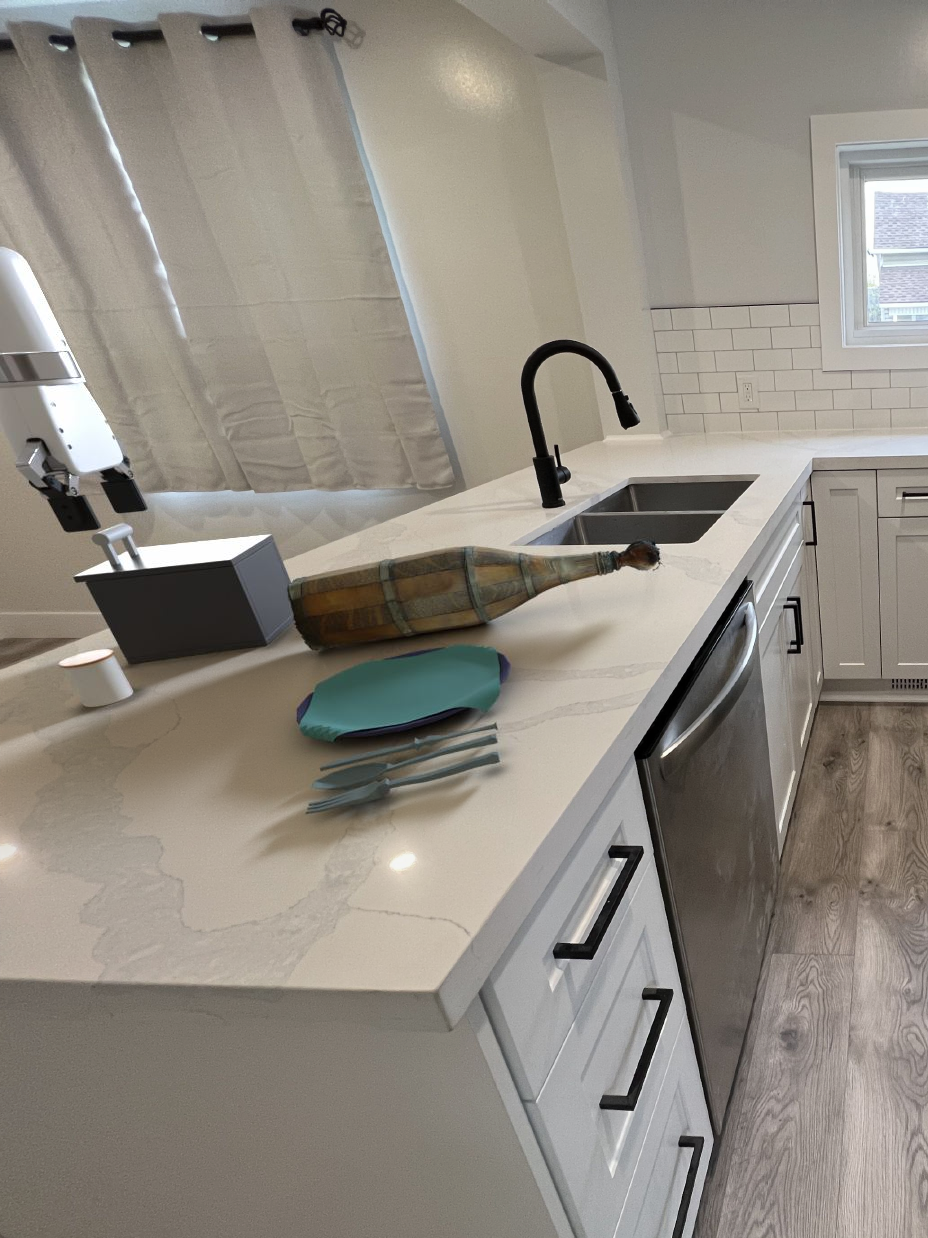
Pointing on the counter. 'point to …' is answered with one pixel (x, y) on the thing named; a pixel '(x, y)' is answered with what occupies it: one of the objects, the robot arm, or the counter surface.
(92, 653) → the white cylinder
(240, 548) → the lid
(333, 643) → the decorative bottle
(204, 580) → the dark grey lidded box
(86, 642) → the counter surface
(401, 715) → the cutlery set
